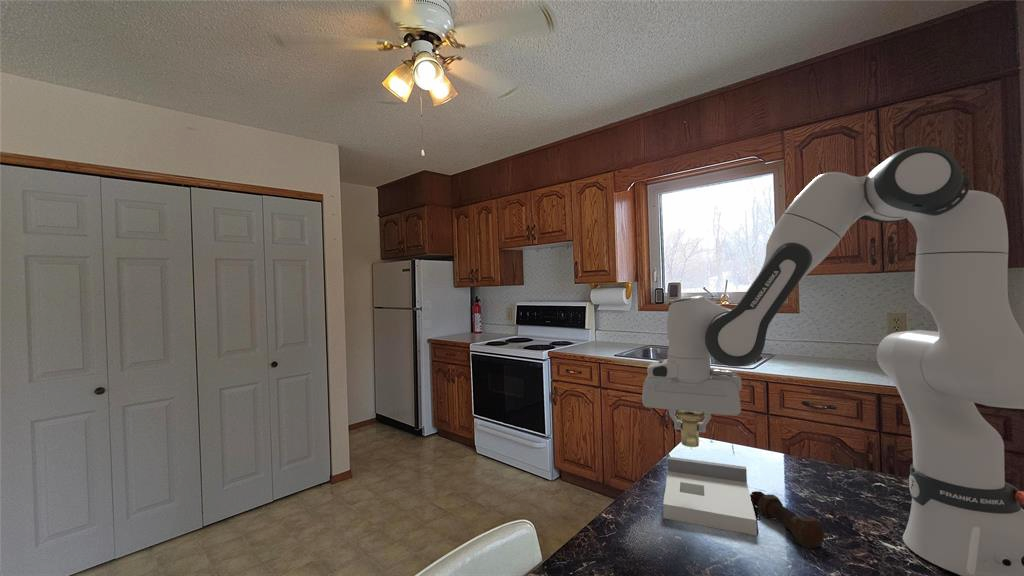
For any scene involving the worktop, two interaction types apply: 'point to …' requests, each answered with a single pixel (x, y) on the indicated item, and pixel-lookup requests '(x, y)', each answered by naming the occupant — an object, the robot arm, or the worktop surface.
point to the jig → (709, 495)
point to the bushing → (689, 427)
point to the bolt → (790, 520)
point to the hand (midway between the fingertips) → (689, 430)
